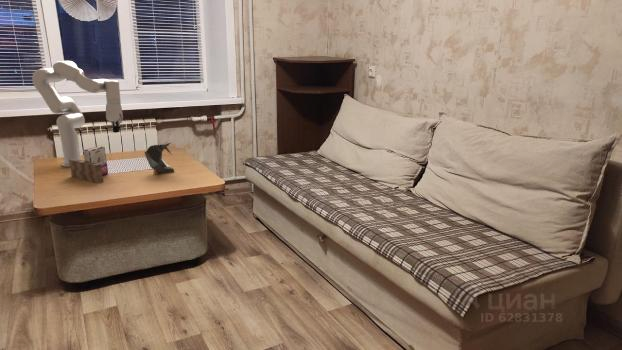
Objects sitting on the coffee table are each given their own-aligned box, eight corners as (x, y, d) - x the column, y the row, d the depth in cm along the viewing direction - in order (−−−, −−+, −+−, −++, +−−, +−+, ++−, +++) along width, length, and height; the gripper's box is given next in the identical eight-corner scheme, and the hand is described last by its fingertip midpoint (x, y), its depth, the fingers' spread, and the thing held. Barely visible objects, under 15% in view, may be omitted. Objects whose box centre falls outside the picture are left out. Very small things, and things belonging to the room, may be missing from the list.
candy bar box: (102, 172, 260) (98, 145, 256) (108, 173, 258) (105, 146, 254) (86, 178, 250) (82, 149, 246) (93, 179, 248) (89, 150, 244)
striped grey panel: (71, 176, 252) (69, 159, 250) (76, 175, 255) (74, 158, 252) (98, 183, 241) (95, 165, 238) (103, 181, 243) (100, 164, 241)
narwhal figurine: (146, 170, 266) (143, 141, 261) (173, 168, 271) (170, 139, 266) (146, 177, 253) (143, 146, 248) (174, 174, 258) (172, 144, 253)
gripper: (99, 100, 262) (102, 131, 267) (116, 103, 254) (118, 134, 260) (111, 99, 268) (113, 129, 273) (127, 102, 261) (129, 133, 266)
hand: (116, 132), depth 266 cm, fingers closed
